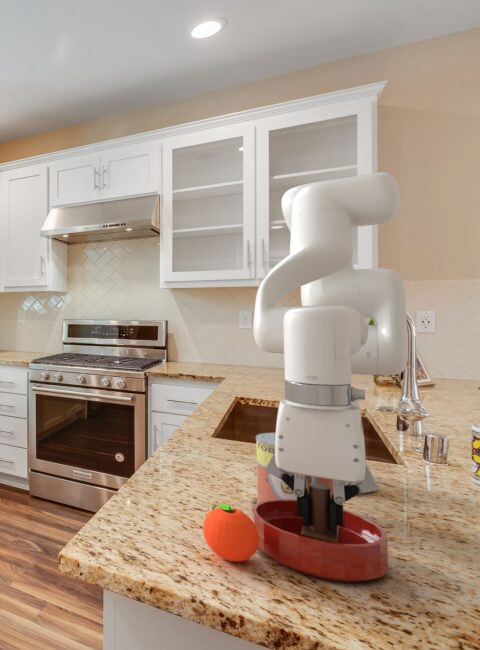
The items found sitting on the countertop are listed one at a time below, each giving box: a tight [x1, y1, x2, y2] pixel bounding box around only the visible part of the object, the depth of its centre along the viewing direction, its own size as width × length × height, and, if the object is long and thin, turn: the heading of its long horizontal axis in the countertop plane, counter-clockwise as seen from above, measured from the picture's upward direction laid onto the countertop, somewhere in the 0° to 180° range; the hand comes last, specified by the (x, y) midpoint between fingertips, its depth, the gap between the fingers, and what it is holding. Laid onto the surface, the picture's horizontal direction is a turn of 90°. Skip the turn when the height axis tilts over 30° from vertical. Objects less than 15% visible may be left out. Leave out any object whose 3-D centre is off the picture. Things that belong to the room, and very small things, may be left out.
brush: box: [301, 484, 340, 544], centre depth 66 cm, size 6×4×9 cm, turn 140°
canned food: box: [255, 431, 333, 503], centre depth 82 cm, size 11×11×12 cm
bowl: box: [251, 499, 389, 583], centre depth 67 cm, size 15×15×5 cm
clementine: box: [202, 503, 259, 562], centre depth 67 cm, size 8×7×7 cm
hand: (320, 525), depth 66 cm, fingers closed on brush, 2 cm apart
